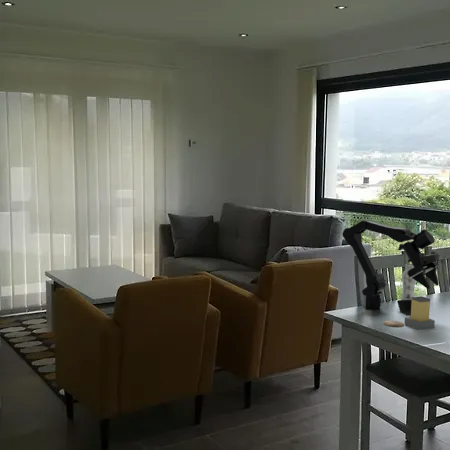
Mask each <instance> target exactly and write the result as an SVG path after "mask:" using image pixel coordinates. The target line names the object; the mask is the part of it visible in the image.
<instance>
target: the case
mask: <svg viewBox="0 0 450 450" xmlns="http://www.w3.org/2000/svg"><path fill="white" fill-rule="evenodd" d="M404 325H405V326H408V327H411V328H413V329H416V330H427V329H433V328H435V325H436V324H435V319H432V318H429V321H422V322H418V321H415V320H413V319H411V316H404Z"/></svg>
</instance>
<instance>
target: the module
mask: <svg viewBox="0 0 450 450" xmlns="http://www.w3.org/2000/svg"><path fill="white" fill-rule="evenodd" d="M430 309H431V299H430V298H428V297H426V296H414V297H412V305H411V319H413V320H415V321H418V322H422V321H429V319H430Z"/></svg>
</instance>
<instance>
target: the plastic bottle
mask: <svg viewBox="0 0 450 450" xmlns="http://www.w3.org/2000/svg"><path fill="white" fill-rule="evenodd" d="M412 268H414V267H413V265H412V263H406V264H405V267H404V269H405V270H404V271H403V272H402V274H401V282H402V290H401V297H400V300H412V297H415V287H416V286H415V285H416V282H417V281H416V280H414V279H412V277H410V278H409V276H408V274H407V273H408V271H409V270H410V269H412ZM413 277H414V275H413Z"/></svg>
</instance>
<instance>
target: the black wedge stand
mask: <svg viewBox="0 0 450 450" xmlns="http://www.w3.org/2000/svg"><path fill="white" fill-rule="evenodd" d="M397 305H398V310H399V312H400V313H401V314H403V315H404V316H405V317H410V316H411V305H412V300H401V299H398V300H397Z"/></svg>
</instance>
